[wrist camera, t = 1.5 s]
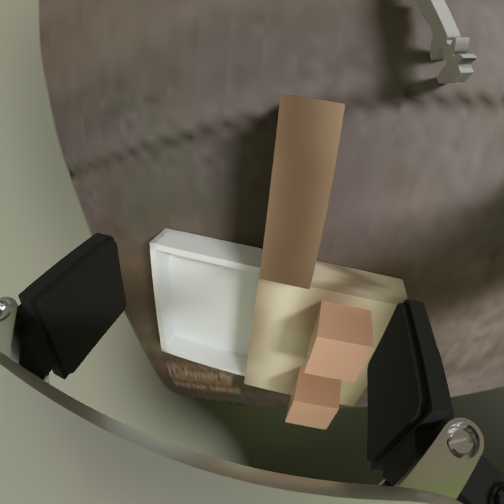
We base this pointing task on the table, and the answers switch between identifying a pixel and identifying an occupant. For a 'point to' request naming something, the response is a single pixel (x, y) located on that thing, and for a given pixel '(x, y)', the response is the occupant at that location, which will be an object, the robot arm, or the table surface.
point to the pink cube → (339, 342)
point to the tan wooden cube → (313, 400)
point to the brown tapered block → (300, 187)
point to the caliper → (447, 42)
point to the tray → (205, 297)
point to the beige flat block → (303, 319)
